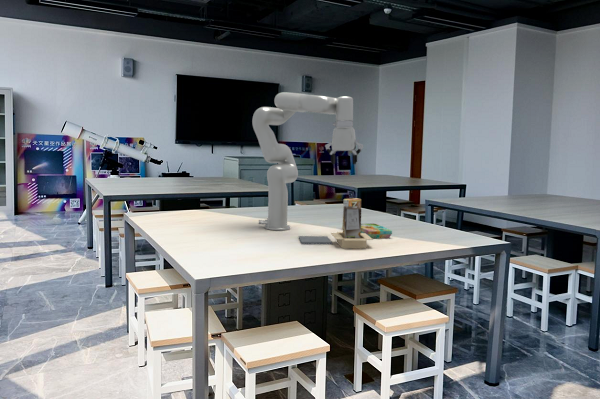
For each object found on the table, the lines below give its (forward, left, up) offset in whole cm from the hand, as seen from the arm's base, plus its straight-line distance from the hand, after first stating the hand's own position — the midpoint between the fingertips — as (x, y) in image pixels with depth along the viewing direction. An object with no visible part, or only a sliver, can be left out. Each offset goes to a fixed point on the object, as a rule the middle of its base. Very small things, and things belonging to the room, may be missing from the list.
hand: (343, 163), depth 222 cm
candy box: (+10, +23, -34) cm, 42 cm away
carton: (+2, -15, -34) cm, 37 cm away
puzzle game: (+16, +9, -34) cm, 39 cm away
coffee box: (+2, -15, -34) cm, 37 cm away
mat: (-13, -8, -34) cm, 37 cm away
